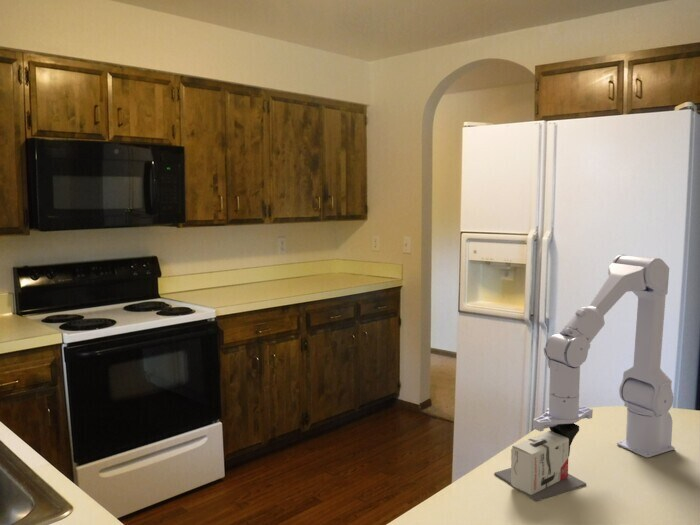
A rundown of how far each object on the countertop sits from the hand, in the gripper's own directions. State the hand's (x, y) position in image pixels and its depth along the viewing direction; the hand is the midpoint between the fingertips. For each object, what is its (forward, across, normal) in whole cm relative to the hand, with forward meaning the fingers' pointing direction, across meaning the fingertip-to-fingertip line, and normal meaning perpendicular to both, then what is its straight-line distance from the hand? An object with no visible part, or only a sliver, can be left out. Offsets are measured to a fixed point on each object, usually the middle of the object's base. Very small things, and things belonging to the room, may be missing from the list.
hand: (562, 456), depth 121 cm
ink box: (-1, +1, 0) cm, 2 cm away
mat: (+3, +6, 0) cm, 7 cm away
